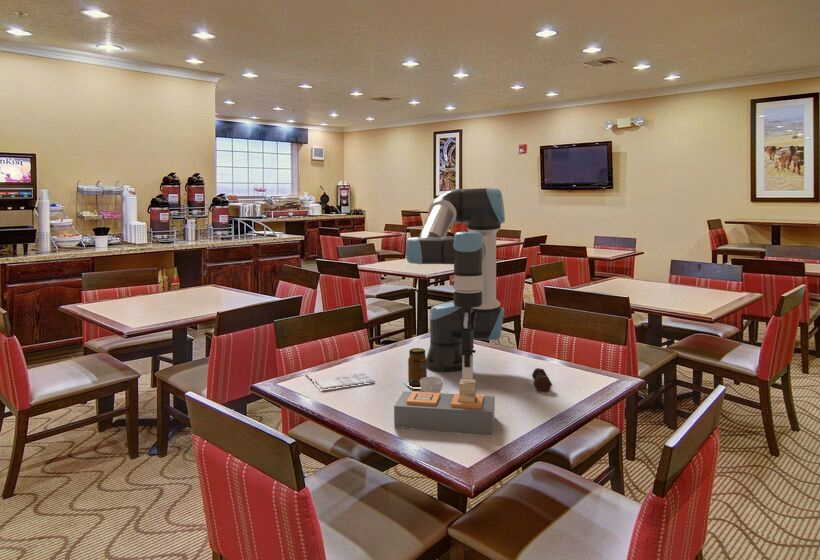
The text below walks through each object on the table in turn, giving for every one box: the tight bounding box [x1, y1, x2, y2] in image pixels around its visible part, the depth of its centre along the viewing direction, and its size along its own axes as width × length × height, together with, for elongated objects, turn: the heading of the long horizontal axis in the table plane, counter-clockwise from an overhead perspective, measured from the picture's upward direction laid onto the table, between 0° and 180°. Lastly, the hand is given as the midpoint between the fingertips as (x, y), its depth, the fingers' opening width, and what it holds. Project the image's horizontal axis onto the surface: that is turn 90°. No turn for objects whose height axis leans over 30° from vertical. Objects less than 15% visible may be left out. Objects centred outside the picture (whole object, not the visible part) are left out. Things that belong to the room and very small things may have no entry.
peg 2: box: [458, 378, 477, 403], centre depth 149 cm, size 4×4×7 cm
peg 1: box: [415, 394, 432, 400], centre depth 152 cm, size 4×4×7 cm
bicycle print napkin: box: [314, 371, 376, 389], centre depth 190 cm, size 19×20×2 cm
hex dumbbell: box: [531, 367, 553, 393], centre depth 182 cm, size 6×5×15 cm
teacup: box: [416, 376, 448, 394], centre depth 174 cm, size 10×10×5 cm
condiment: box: [407, 347, 428, 391], centre depth 181 cm, size 7×8×12 cm
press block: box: [393, 390, 496, 435], centre depth 151 cm, size 12×26×7 cm, turn 79°
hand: (467, 377), depth 148 cm, fingers closed
